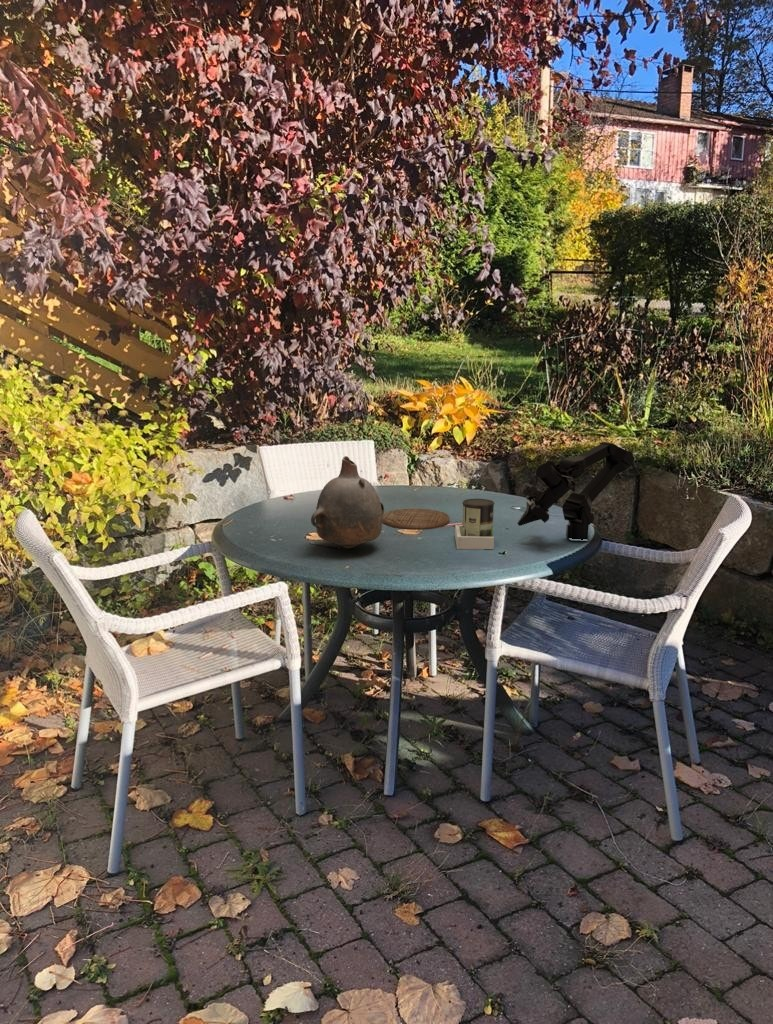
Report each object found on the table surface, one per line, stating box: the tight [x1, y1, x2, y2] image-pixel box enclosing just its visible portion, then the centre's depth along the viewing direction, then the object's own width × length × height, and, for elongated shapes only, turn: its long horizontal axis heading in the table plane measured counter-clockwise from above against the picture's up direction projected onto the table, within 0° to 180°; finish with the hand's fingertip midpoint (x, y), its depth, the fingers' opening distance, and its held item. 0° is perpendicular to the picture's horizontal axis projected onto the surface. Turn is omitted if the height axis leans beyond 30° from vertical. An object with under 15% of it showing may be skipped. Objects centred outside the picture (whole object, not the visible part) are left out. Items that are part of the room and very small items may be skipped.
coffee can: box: [462, 498, 495, 537], centre depth 262 cm, size 10×10×14 cm
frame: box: [454, 524, 495, 550], centre depth 264 cm, size 12×15×4 cm
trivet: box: [382, 508, 450, 531], centre depth 292 cm, size 25×25×2 cm
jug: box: [310, 455, 385, 550], centre depth 254 cm, size 24×21×30 cm
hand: (518, 524), depth 262 cm, fingers closed
